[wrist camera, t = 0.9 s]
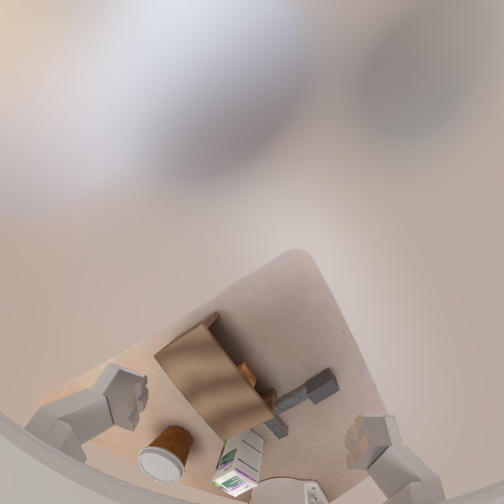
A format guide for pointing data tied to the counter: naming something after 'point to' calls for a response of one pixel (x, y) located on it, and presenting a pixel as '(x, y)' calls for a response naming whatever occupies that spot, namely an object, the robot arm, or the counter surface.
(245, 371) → the orange block
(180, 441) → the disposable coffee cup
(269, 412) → the walnut cubby
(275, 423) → the metal crook
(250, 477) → the syrup box
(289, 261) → the counter surface
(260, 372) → the counter surface
